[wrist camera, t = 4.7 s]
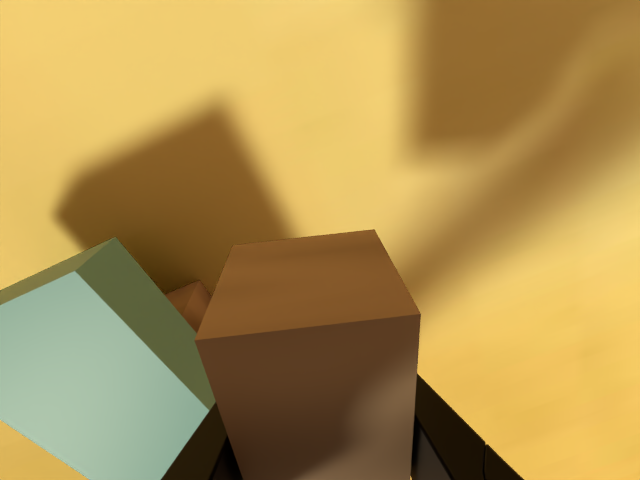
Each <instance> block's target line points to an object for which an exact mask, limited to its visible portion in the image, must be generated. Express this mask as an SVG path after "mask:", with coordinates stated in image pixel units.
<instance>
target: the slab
mask: <svg viewBox="0 0 640 480" xmlns="http://www.w3.org/2000/svg"><path fill="white" fill-rule="evenodd" d="M196 335H197V333H196V332H195V331H194V330H193V328H192V327H191V326H190V325H189V324H188V323H187V321H186V320H185V319H184V318H183V317H182V315H181V314H180V313H179V312H178V311H177V309H176V308H175V307H174V306H173V305H172V303H171V302H170V301H169V300H168V299H167V297H166V296H165V295H164V294H163V293H162V292H161V290H160V289H159V288H158V287H157V286H156V284H155V283H154V282H153V281H152V280H151V278H150V277H149V276H148V275H147V274H146V272H145V271H144V270H143V269H142V268H141V266H140V265H139V264H138V263H137V262H136V261H135V259H134V258H133V257H132V256H131V255H130V253H129V252H128V251H127V250H126V249H125V247H124V246H123V245H122V244H121V243H120V241H119V240H118V239H117V238H116V237H114V238H112V239H109V240H107V241H105V242H103V243H101V244H99V245H97V246H94V247H92V248H90V249H88V250H86V251H84V252H82V253H79V254H77V255H75V256H73V257H71V258H69V259H67V260H65V261H62V262H60V263H58V264H56V265H54V266H52V267H50V268H47V269H45V270H43V271H41V272H39V273H37V274H35V275H32V276H30V277H28V278H26V279H24V280H22V281H20V282H17V283H15V284H13V285H11V286H9V287H7V288H5V289H2V290H0V420H1V421H3V422H4V423H6V424H7V425H9V426H10V427H12V428H13V429H15V430H16V431H18V432H19V433H21V434H22V435H24V436H25V437H27V438H28V439H30V440H31V441H33V442H34V443H36V444H37V445H39V446H40V447H42V448H43V449H45V450H46V451H48V452H49V453H51V454H52V455H54V456H55V457H57V458H58V459H60V460H61V461H62V462H64V463H65V464H67V465H68V466H70V467H71V468H73V469H74V470H76V471H77V472H79V473H80V474H82V475H83V476H85V477H86V478H88V479H89V480H161V478H162V477H163V476H164V474H165V473H166V471H167V470H168V468H169V467H170V466H171V464H172V463H173V461H174V460H175V459H176V457H177V456H178V454H179V453H180V451H181V450H182V449H183V447H184V446H185V444H186V443H187V442H188V440H189V439H190V437H191V436H192V434H193V433H194V432H195V430H196V429H197V427H198V426H199V425H200V423H201V422H202V420H203V419H204V418H205V416H206V415H207V413H208V412H209V410H210V409H211V408H212V406H213V405H214V403H215V402H216V401H215V398H214V395H213V392H212V389H211V386H210V383H209V381H208V378H207V375H206V372H205V369H204V366H203V364H202V361H201V358H200V355H199V352H198V349H197V346H196V344H195V341H194V340H195V337H196Z"/></svg>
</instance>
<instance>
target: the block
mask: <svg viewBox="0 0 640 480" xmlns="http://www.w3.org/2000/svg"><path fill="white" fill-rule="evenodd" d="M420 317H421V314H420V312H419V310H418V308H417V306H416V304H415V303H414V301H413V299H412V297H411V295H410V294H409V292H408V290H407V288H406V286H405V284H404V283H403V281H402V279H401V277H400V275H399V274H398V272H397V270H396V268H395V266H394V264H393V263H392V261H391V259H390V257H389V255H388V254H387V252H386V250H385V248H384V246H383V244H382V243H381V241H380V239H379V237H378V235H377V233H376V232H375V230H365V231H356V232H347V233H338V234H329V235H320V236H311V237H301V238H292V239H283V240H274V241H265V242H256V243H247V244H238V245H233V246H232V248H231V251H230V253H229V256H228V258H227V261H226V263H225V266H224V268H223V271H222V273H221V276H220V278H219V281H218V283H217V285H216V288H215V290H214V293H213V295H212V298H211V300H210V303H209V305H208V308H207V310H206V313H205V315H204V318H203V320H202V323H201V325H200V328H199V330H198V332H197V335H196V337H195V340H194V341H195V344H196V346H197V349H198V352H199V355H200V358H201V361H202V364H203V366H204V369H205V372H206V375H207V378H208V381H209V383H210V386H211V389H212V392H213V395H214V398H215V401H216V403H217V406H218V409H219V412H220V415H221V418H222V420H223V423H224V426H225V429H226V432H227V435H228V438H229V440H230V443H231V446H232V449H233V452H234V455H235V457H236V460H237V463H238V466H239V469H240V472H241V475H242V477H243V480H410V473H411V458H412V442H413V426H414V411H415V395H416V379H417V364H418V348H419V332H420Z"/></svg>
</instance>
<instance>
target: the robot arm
mask: <svg viewBox="0 0 640 480" xmlns="http://www.w3.org/2000/svg"><path fill="white" fill-rule="evenodd" d="M410 475H411V478H412V480H524V479H523V478H522V477H521V476H520V475H519V474H517V473H516V472H515V471H514V470H513V469H512V468H511V467H510V466H509V465H508V464H507V463H506V462H505V461H504V460H503V459H502V458H501V457H500V456H499V455H498V454H497V453H496V452H495V451H494V450H493V449H492V448H491V447H490V446H489V445H488V444H486V445H485V441H484V440H483V439H482V438H481V437H480V436H479V435H478V434H477V433H476V432H475V431H474V430H473V429H472V428H471V427H470V426H469V425H468V424H467V423H466V422H465V421H464V420H463V419H462V418H461V417H460V416H459V415H458V414H457V413H456V412H455V411H454V410H453V409H452V408H451V407H450V406H449V405H448V404H447V403H446V402H445V401H444V400H443V399H442V398H441V397H440V396H439V395H438V394H437V393H436V392H435V391H434V390H433V389H432V388H431V387H430V386H429V385H428V384H427V383H426V382H425V381H424V380H423V379H422V378H421V377H420V376H419V375H418V374H417V379H416V395H415V411H414V426H413V442H412V458H411V473H410ZM161 480H243V477H242V475H241V472H240V469H239V466H238V463H237V460H236V457H235V455H234V452H233V449H232V446H231V443H230V440H229V438H228V435H227V432H226V429H225V426H224V423H223V420H222V418H221V415H220V412H219V409H218V406H217V403H216V402H215V403H214V405H213V406H212V408H211V409H210V410H209V412H208V413H207V415H206V416H205V418H204V419H203V420H202V422H201V423H200V425H199V426H198V427H197V429H196V430H195V432H194V433H193V434H192V436H191V437H190V439H189V440H188V442H187V443H186V444H185V446H184V447H183V449H182V450H181V451H180V453H179V454H178V456H177V457H176V459H175V460H174V461H173V463H172V464H171V466H170V467H169V468H168V470H167V471H166V473H165V474H164V476H163V477H162V478H161Z"/></svg>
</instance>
